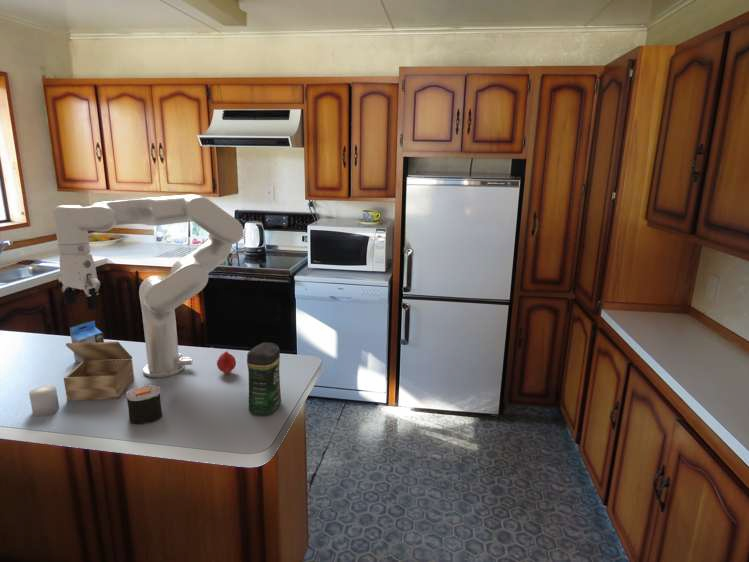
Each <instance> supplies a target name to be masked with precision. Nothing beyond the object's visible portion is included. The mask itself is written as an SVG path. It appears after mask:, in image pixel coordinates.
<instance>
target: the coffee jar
mask: <svg viewBox="0 0 749 562" xmlns="http://www.w3.org/2000/svg"><path fill="white" fill-rule="evenodd" d="M280 353H281V352H280V347H279V345H277V344H276V343H274V342H273V343H272V342H265V341H264V342H261V343H259V344H257V345H255V346H254V347H252V348H251V349H250V350H249V351H248V352H247V354H246V356H247V357H246V363H247V370H248V411H249V412H250V413H251V414H253V415H256V416H266V415H267V416H268V415H272V414H273V413H274V412H275V411H277V410H278V408H279V406H280V405H281V403H282V394H281V380H280V379H281V378H280V360H281V356H280V355H281V354H280Z"/></svg>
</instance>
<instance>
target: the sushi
mask: <svg viewBox="0 0 749 562" xmlns="http://www.w3.org/2000/svg"><path fill="white" fill-rule="evenodd" d="M125 392H126V393H125V394H126V395H125V397H126V404H127V410H128V421H129V423H130V424H131V425H137V426H138V425H145V424H150V423H154V422H157V421H159V420H160V419H161V418H162V417H163V410H162V400H161V392H162V391H161V388H160V386H158V385H156V384H155V385H154V384H148V385H143V386H141V387H136V388H134V389H133V388H132V389H131V390H128V391H125Z"/></svg>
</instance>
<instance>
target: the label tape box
mask: <svg viewBox="0 0 749 562" xmlns="http://www.w3.org/2000/svg"><path fill="white" fill-rule="evenodd" d="M83 327H84V328H83ZM69 330H70V331H69V332H70V339H71V343H97V342H105V340H104V333H103V332H102V331H101V330H100V329H98V328H97V327H96V320H92V321H89V322H88V321H87V322H84V323H81V324H78V325H75V326H72V327H69ZM73 357H74V362H75V361H76V363H79V362H80V363H79V364H81V363H82V362H83V360H82V359H81V358H80V357H79V356H78V355H76V354H75V353H74V352H73Z"/></svg>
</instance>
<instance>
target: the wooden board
mask: <svg viewBox="0 0 749 562" xmlns="http://www.w3.org/2000/svg"><path fill="white" fill-rule="evenodd" d="M65 346H66V347H67V348H68V349H69V350H71V351H72V352H73V354H74V353H75V354H76V355H78V356H79V357H80V358H81V359H82V360H83V361H96V360H126V359H132V360H133V356H132V355H131V354H130V353H129V352H128V351H127V350H126V348H124V346H123V345H122V344H121V343H120V342H119V341H104V342H97V343H72V342H70V343H68V342H67V343H66V344H65Z"/></svg>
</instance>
